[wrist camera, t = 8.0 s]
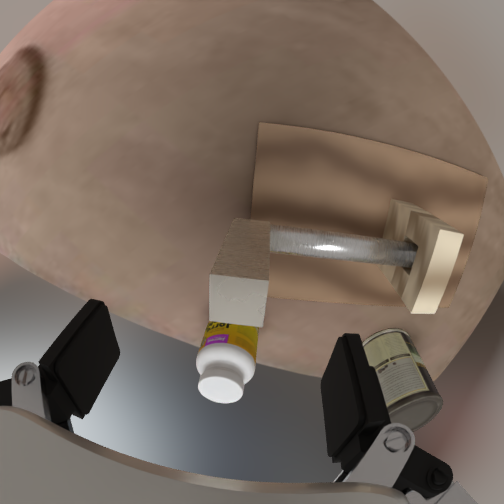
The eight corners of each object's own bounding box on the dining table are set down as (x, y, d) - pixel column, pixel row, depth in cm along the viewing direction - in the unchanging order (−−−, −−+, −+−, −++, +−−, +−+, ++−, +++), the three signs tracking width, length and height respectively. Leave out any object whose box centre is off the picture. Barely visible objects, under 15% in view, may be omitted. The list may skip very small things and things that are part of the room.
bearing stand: (259, 123, 27) (252, 111, 16) (481, 176, 26) (541, 199, 15) (244, 288, 35) (233, 354, 24) (444, 302, 34) (481, 351, 23)
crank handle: (233, 245, 25) (209, 320, 15) (236, 214, 24) (209, 274, 14) (409, 264, 25) (465, 331, 14) (417, 237, 23) (482, 295, 13)
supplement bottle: (239, 289, 35) (224, 361, 23) (268, 323, 37) (266, 397, 25) (201, 312, 37) (175, 382, 25) (231, 342, 39) (217, 413, 27)
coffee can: (421, 331, 36) (456, 395, 23) (390, 374, 40) (412, 437, 28) (372, 322, 36) (403, 397, 23) (342, 370, 40) (357, 441, 27)
